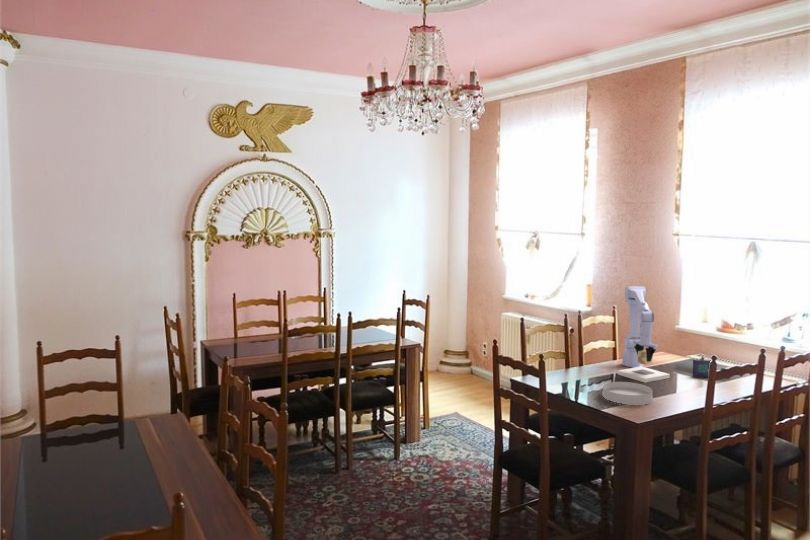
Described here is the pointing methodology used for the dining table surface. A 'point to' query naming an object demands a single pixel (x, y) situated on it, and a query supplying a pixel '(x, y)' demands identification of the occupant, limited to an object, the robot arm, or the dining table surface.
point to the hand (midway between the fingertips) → (644, 360)
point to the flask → (701, 367)
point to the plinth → (643, 374)
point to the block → (643, 357)
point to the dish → (627, 393)
